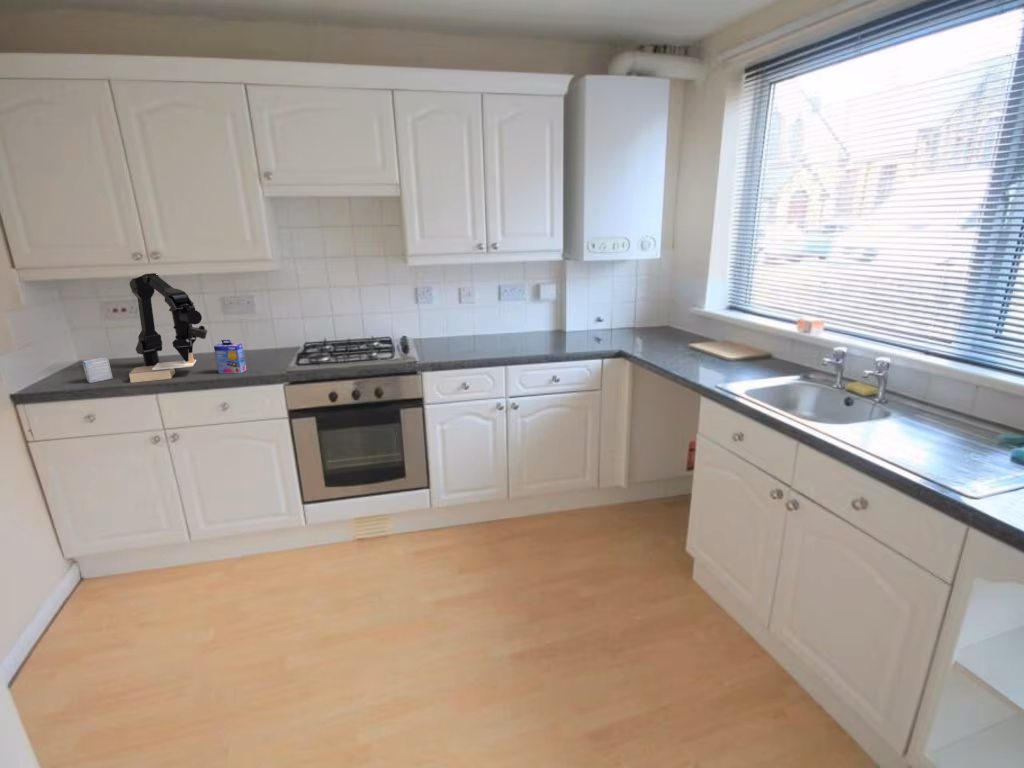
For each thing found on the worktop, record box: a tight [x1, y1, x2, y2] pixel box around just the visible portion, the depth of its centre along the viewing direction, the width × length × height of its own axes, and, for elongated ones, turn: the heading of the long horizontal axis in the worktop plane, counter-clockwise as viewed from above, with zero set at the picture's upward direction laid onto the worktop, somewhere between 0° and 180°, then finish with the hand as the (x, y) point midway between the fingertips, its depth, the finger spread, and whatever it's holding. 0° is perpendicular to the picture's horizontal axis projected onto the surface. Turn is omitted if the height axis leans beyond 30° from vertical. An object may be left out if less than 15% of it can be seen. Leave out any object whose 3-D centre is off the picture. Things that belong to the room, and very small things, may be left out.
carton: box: [128, 366, 176, 384], centre depth 224 cm, size 10×14×4 cm
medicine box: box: [81, 357, 113, 384], centre depth 221 cm, size 8×4×9 cm, turn 141°
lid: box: [152, 352, 197, 370], centre depth 226 cm, size 10×14×5 cm
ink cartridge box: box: [213, 339, 247, 374], centre depth 229 cm, size 10×6×14 cm, turn 93°
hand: (188, 358), depth 227 cm, fingers open, 9 cm apart
